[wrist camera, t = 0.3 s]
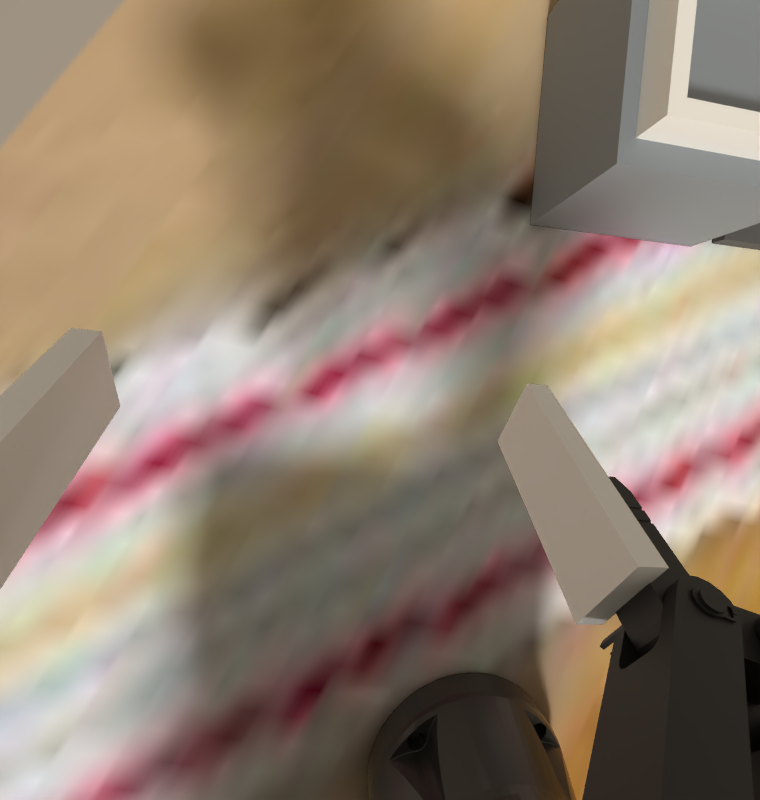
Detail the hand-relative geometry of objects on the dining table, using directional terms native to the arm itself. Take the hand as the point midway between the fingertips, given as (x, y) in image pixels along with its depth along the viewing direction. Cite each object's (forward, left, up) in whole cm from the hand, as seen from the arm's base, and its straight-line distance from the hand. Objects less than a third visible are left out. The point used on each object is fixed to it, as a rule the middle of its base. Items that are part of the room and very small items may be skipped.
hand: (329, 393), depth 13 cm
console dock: (+21, -22, -16) cm, 34 cm away
